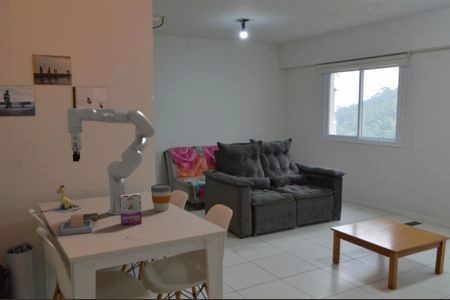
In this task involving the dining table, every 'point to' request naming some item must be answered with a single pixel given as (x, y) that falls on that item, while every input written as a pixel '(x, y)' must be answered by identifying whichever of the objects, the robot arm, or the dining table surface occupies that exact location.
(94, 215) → the brown piece
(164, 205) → the reusable coffee cup
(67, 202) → the stuffed giraffe
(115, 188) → the robot arm
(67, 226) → the tray
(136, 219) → the candy bar box
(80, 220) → the tan rectangular block
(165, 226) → the dining table surface
